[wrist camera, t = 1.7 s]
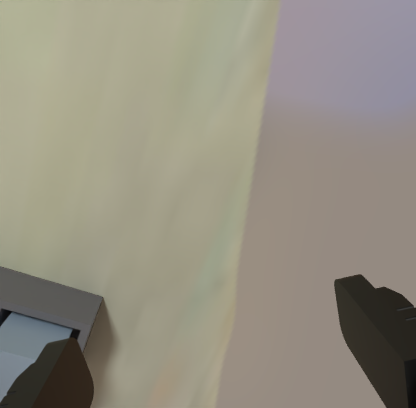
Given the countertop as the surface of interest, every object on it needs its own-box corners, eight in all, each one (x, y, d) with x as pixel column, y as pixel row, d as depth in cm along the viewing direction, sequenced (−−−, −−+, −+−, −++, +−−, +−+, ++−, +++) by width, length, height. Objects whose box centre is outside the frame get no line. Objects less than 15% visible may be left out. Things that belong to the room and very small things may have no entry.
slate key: (-2, 359, 30) (-32, 402, 26) (13, 310, 29) (-16, 346, 25) (57, 374, 31) (37, 417, 27) (73, 327, 30) (55, 364, 26)
